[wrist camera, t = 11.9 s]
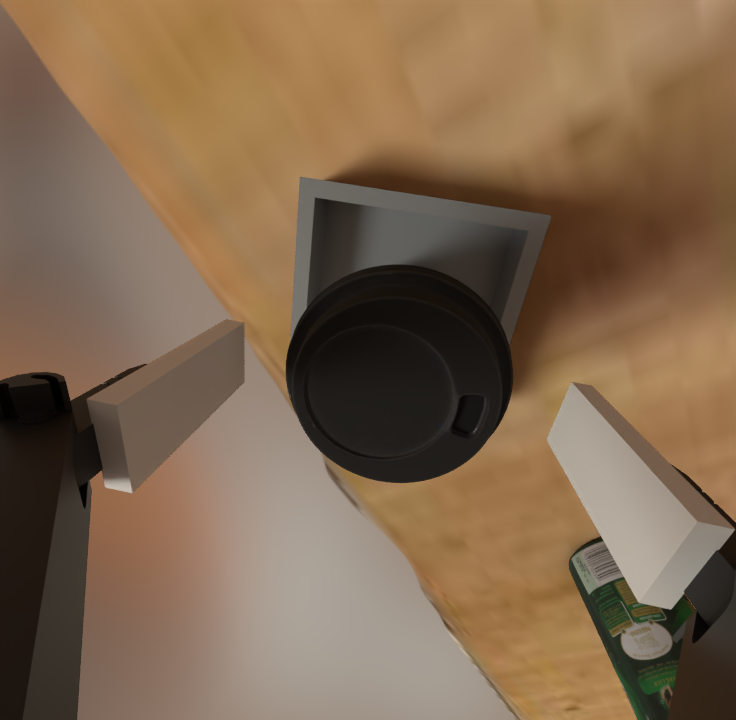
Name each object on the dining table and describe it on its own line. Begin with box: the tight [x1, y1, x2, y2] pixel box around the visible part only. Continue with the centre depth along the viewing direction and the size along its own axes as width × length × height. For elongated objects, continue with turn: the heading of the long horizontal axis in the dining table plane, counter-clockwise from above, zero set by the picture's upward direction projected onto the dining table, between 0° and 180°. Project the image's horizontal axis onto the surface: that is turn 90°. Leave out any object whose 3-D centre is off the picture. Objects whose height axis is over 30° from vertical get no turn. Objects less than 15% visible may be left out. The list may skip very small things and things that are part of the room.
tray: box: [287, 177, 552, 393], centre depth 26 cm, size 15×15×4 cm
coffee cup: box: [286, 264, 513, 483], centre depth 20 cm, size 9×9×15 cm
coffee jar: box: [569, 538, 695, 720], centre depth 27 cm, size 10×8×19 cm
